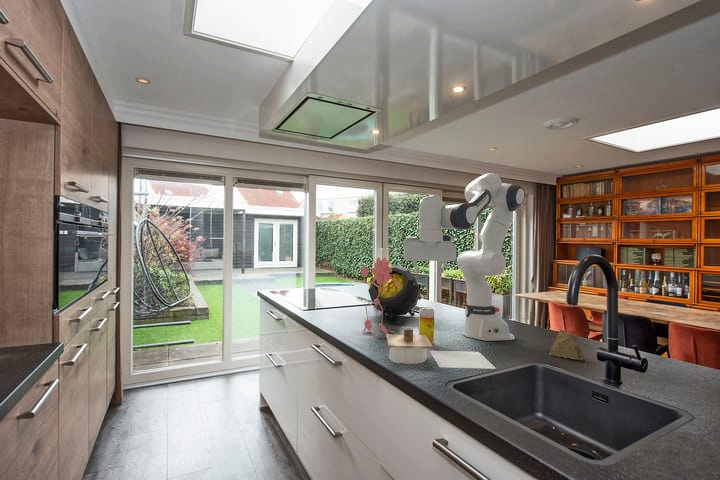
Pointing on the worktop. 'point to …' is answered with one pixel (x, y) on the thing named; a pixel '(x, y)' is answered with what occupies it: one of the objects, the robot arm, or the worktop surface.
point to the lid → (408, 340)
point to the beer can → (426, 323)
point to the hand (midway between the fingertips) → (429, 272)
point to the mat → (461, 359)
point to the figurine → (381, 276)
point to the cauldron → (396, 293)
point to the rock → (566, 347)
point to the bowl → (408, 355)
